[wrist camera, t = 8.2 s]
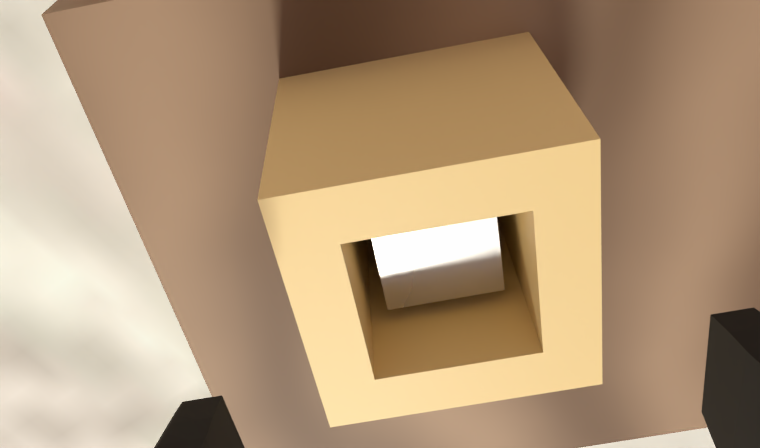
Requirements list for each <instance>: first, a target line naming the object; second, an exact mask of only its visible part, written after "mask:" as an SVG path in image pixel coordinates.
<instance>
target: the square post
mask: <svg viewBox="0 0 760 448" xmlns="http://www.w3.org/2000/svg"><path fill="white" fill-rule="evenodd" d="M371 240H372V244H373V248H374V253H375V257H376V261H377V266H378V270H379V274H380V279H381V283H382V287H383V292H384V296H385V300H386V305H387V309H388V310H391V309H397V308H403V307H409V306H415V305H420V304H426V303H432V302H438V301H444V300H450V299H455V298H461V297H467V296H473V295H479V294H485V293H490V292H496V291H502V290H505V286H504V277H503V268H502V259H501V250H500V241H499V232H498V223H497V217H494V218H488V219H482V220H477V221H471V222H465V223H459V224H454V225H448V226H442V227H436V228H431V229H425V230H419V231H413V232H407V233H402V234H396V235H390V236H384V237H379V238H373V239H371Z"/></svg>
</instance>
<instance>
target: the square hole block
mask: <svg viewBox="0 0 760 448" xmlns="http://www.w3.org/2000/svg"><path fill="white" fill-rule="evenodd" d="M257 200H258V204H259V207H260V210H261V213H262V216H263V219H264V222H265V225H266V229H267V232H268V235H269V238H270V241H271V244H272V247H273V250H274V254H275V257H276V260H277V263H278V266H279V269H280V272H281V275H282V279H283V282H284V285H285V288H286V291H287V294H288V297H289V300H290V304H291V307H292V310H293V313H294V316H295V319H296V322H297V325H298V329H299V332H300V335H301V338H302V341H303V344H304V347H305V350H306V354H307V357H308V360H309V363H310V366H311V369H312V372H313V375H314V379H315V382H316V385H317V388H318V391H319V394H320V397H321V400H322V404H323V407H324V410H325V413H326V416H327V419H328V422H329V425H330V427H336V426H342V425H349V424H355V423H361V422H367V421H374V420H380V419H386V418H393V417H399V416H405V415H411V414H418V413H424V412H430V411H437V410H443V409H449V408H455V407H462V406H468V405H474V404H481V403H487V402H493V401H500V400H506V399H512V398H518V397H525V396H531V395H537V394H544V393H550V392H556V391H562V390H569V389H575V388H581V387H588V386H594V385H600V384H603V383H602V262H601V141H600V137H599V136H598V134H597V133H596V131H595V130H594V128H593V127H592V125H591V124H590V122H589V121H588V119H587V118H586V116H585V115H584V113H583V112H582V110H581V109H580V107H579V106H578V104H577V103H576V101H575V100H574V99H573V97H572V96H571V94H570V93H569V91H568V90H567V88H566V87H565V85H564V84H563V82H562V81H561V79H560V78H559V76H558V75H557V73H556V72H555V70H554V69H553V67H552V66H551V64H550V63H549V61H548V60H547V58H546V57H545V55H544V54H543V52H542V51H541V49H540V48H539V46H538V45H537V43H536V42H535V40H534V39H533V37H532V36H531V34H530V33H529V32H525V33H520V34H515V35H509V36H504V37H499V38H493V39H488V40H483V41H477V42H472V43H467V44H461V45H456V46H451V47H445V48H440V49H435V50H429V51H424V52H419V53H413V54H408V55H403V56H397V57H392V58H387V59H381V60H376V61H371V62H365V63H360V64H355V65H349V66H344V67H339V68H333V69H328V70H323V71H317V72H312V73H307V74H301V75H296V76H291V77H285V78H280V79H279V82H278V88H277V93H276V99H275V104H274V110H273V116H272V121H271V127H270V132H269V138H268V144H267V149H266V155H265V160H264V166H263V171H262V177H261V183H260V188H259V194H258V199H257ZM494 217H497V223H498V232H499V241H500V250H501V259H502V268H503V277H504V286H505V290H502V291H496V292H490V293H485V294H479V295H473V296H467V297H461V298H455V299H450V300H444V301H438V302H432V303H426V304H420V305H415V306H409V307H403V308H397V309H391V310H388V309H387V305H386V300H385V296H384V292H383V287H382V283H381V279H380V274H379V270H378V266H377V261H376V257H375V253H374V248H373V244H372V240H371V239H373V238H379V237H384V236H390V235H396V234H402V233H407V232H413V231H419V230H425V229H431V228H436V227H442V226H448V225H454V224H459V223H465V222H471V221H477V220H482V219H488V218H494Z"/></svg>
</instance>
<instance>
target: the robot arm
mask: <svg viewBox="0 0 760 448" xmlns="http://www.w3.org/2000/svg"><path fill="white" fill-rule="evenodd" d="M701 412H702V415H703V417H704V419H705V422H706V424H707V427H708V429H709V432H710V434H711V437H712V439H713V442H714V444H715V446H716V448H760V311H758V310H757V309H755V308H754V307H753V308H747V309H741V310H735V311H729V312H723V313H717V314H711V315H710V326H709V336H708V347H707V358H706V368H705V379H704V390H703V400H702V411H701ZM154 448H245V447H244V445H243V443H242V440H241V438H240V436H239V433H238V431H237V429H236V426H235V424H234V422H233V420H232V417H231V415H230V413H229V410H228V408H227V406H226V403H225V401H224V399H223V396H216V397H210V398H204V399H197V400H191V401H185V402H182V404H181V405H180V406H179V408H178V409H177V411H176V412H175V414H174V416H173V417H172V419H171V421H170V422H169V424H168V426H167V427H166V429H165V431H164V432H163V434H162V436H161V437H160V439H159V441H158V442H157V444H156V446H155V447H154Z"/></svg>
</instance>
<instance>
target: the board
mask: <svg viewBox="0 0 760 448" xmlns="http://www.w3.org/2000/svg"><path fill="white" fill-rule="evenodd" d="M42 17H43V19H44V21H45V24H46V26H47V28H48V30H49V33H50V35H51V37H52V39H53V42H54V44H55V46H56V48H57V50H58V53H59V55H60V57H61V59H62V62H63V64H64V66H65V68H66V71H67V73H68V75H69V77H70V80H71V82H72V84H73V86H74V89H75V91H76V93H77V95H78V97H79V100H80V102H81V104H82V106H83V109H84V111H85V113H86V115H87V118H88V120H89V122H90V124H91V127H92V129H93V131H94V133H95V136H96V138H97V140H98V142H99V144H100V147H101V149H102V151H103V153H104V156H105V158H106V160H107V162H108V165H109V167H110V169H111V171H112V174H113V176H114V178H115V180H116V183H117V185H118V187H119V189H120V191H121V194H122V196H123V198H124V200H125V203H126V205H127V207H128V209H129V212H130V214H131V216H132V218H133V221H134V223H135V225H136V227H137V230H138V232H139V234H140V236H141V238H142V241H143V243H144V245H145V247H146V250H147V252H148V254H149V256H150V259H151V261H152V263H153V265H154V268H155V270H156V272H157V274H158V277H159V279H160V281H161V283H162V285H163V288H164V290H165V292H166V294H167V297H168V299H169V301H170V303H171V306H172V308H173V310H174V312H175V315H176V317H177V319H178V321H179V324H180V326H181V328H182V330H183V332H184V335H185V337H186V339H187V341H188V344H189V346H190V348H191V350H192V353H193V355H194V357H195V359H196V362H197V364H198V366H199V368H200V371H201V373H202V375H203V377H204V379H205V382H206V384H207V386H208V388H209V391H210V393H211V395H212V397H216V396H223V399H224V401H225V403H226V406H227V408H228V410H229V413H230V415H231V417H232V420H233V422H234V424H235V426H236V429H237V431H238V433H239V436H240V438H241V440H242V443H243V445H244V447H245V448H579V447H586V446H592V445H599V444H605V443H611V442H618V441H624V440H630V439H637V438H643V437H649V436H656V435H662V434H668V433H675V432H681V431H687V430H694V429H700V428H706V427H707V424H706V422H705V419H704V417H703V415H702V412H701V411H702V400H703V390H704V379H705V368H706V358H707V347H708V336H709V326H710V315H711V314H717V313H723V312H729V311H735V310H741V309H747V308H753V307H754V308H755V309H757V310H758V311H760V0H57V1H56V2H55V3H54V4H53V5H52V6H51V7H50V8H48V9H47V10H46V11H45V12H44V13H43V14H42ZM525 32H529V33H530V34H531V36H532V37H533V39H534V40H535V42H536V43H537V45H538V46H539V48H540V49H541V51H542V52H543V54H544V55H545V57H546V58H547V60H548V61H549V63H550V64H551V66H552V67H553V69H554V70H555V72H556V73H557V75H558V76H559V78H560V79H561V81H562V82H563V84H564V85H565V87H566V88H567V90H568V91H569V93H570V94H571V96H572V97H573V99H574V100H575V101H576V103H577V104H578V106H579V107H580V109H581V110H582V112H583V113H584V115H585V116H586V118H587V119H588V121H589V122H590V124H591V125H592V127H593V128H594V130H595V131H596V133H597V134H598V136H599V137H600V141H601V262H602V383H603V384H600V385H594V386H588V387H581V388H575V389H569V390H562V391H556V392H550V393H544V394H537V395H531V396H525V397H518V398H512V399H506V400H500V401H493V402H487V403H481V404H474V405H468V406H462V407H455V408H449V409H443V410H437V411H430V412H424V413H418V414H411V415H405V416H399V417H393V418H386V419H380V420H374V421H367V422H361V423H355V424H349V425H342V426H336V427H330V425H329V422H328V419H327V416H326V413H325V410H324V407H323V404H322V400H321V397H320V394H319V391H318V388H317V385H316V382H315V379H314V375H313V372H312V369H311V366H310V363H309V360H308V357H307V354H306V350H305V347H304V344H303V341H302V338H301V335H300V332H299V329H298V325H297V322H296V319H295V316H294V313H293V310H292V307H291V304H290V300H289V297H288V294H287V291H286V288H285V285H284V282H283V279H282V275H281V272H280V269H279V266H278V263H277V260H276V257H275V254H274V250H273V247H272V244H271V241H270V238H269V235H268V232H267V229H266V225H265V222H264V219H263V216H262V213H261V210H260V207H259V204H258V200H257V199H258V194H259V188H260V183H261V177H262V171H263V166H264V160H265V155H266V149H267V144H268V138H269V132H270V127H271V121H272V116H273V110H274V104H275V99H276V93H277V88H278V82H279V79H280V78H285V77H291V76H296V75H301V74H307V73H312V72H317V71H323V70H328V69H333V68H339V67H344V66H349V65H355V64H360V63H365V62H371V61H376V60H381V59H387V58H392V57H397V56H403V55H408V54H413V53H419V52H424V51H429V50H435V49H440V48H445V47H451V46H456V45H461V44H467V43H472V42H477V41H483V40H488V39H493V38H499V37H504V36H509V35H515V34H520V33H525Z"/></svg>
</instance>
